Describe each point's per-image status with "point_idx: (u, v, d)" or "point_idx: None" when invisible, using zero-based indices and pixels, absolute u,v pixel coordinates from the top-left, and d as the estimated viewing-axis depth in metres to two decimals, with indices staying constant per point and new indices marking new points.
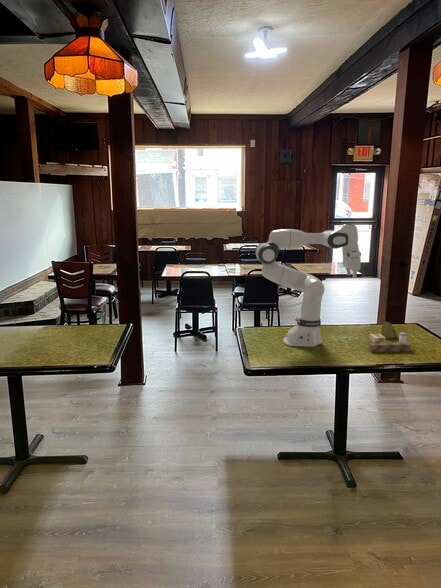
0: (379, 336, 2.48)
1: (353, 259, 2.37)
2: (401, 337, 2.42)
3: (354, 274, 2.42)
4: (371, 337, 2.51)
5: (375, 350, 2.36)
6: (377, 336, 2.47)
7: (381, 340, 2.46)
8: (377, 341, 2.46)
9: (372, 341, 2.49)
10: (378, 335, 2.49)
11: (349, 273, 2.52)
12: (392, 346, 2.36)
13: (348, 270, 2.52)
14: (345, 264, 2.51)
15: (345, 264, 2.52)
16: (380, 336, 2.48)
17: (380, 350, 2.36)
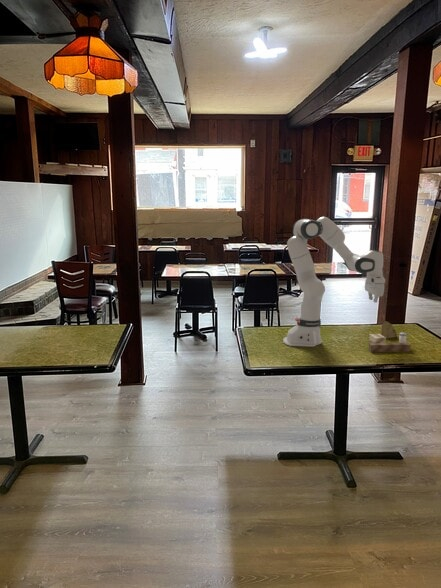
0: (379, 336, 2.48)
1: (377, 285, 2.44)
2: (401, 337, 2.42)
3: (375, 299, 2.50)
4: (371, 337, 2.50)
5: (375, 350, 2.36)
6: (377, 336, 2.47)
7: (381, 340, 2.46)
8: (377, 341, 2.46)
9: (372, 341, 2.49)
10: (378, 335, 2.49)
11: (371, 298, 2.58)
12: (392, 346, 2.36)
13: (370, 295, 2.59)
14: (367, 288, 2.58)
15: (367, 288, 2.59)
16: (380, 336, 2.48)
17: (380, 350, 2.36)
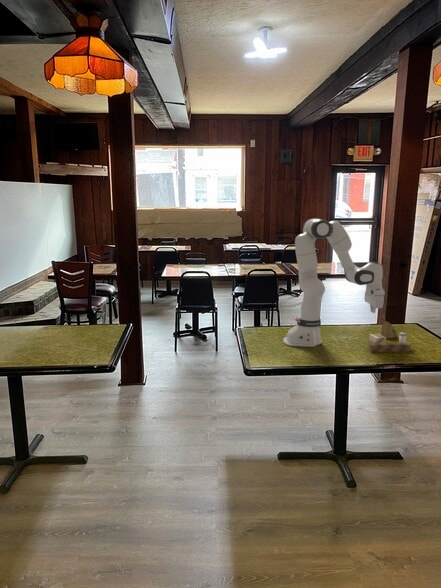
0: (379, 336, 2.48)
1: (377, 297, 2.46)
2: (401, 337, 2.42)
3: (373, 309, 2.55)
4: (371, 337, 2.50)
5: (375, 350, 2.36)
6: (378, 336, 2.47)
7: (382, 340, 2.46)
8: (378, 341, 2.46)
9: (372, 341, 2.49)
10: (378, 335, 2.49)
11: None
12: (392, 346, 2.36)
13: (372, 307, 2.57)
14: (367, 300, 2.60)
15: (366, 299, 2.61)
16: (380, 336, 2.48)
17: (380, 350, 2.36)
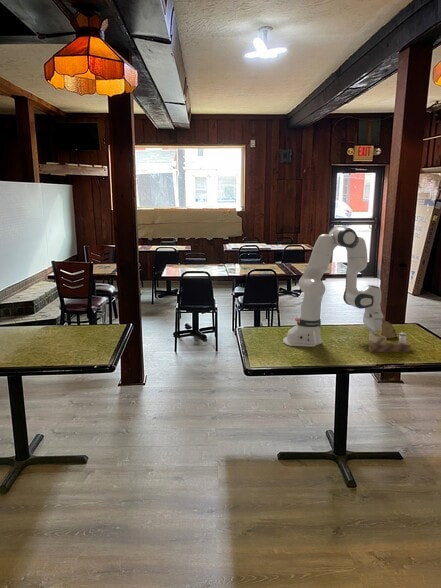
0: (379, 336, 2.48)
1: (375, 320, 2.48)
2: (401, 337, 2.42)
3: (372, 332, 2.57)
4: (371, 337, 2.50)
5: (375, 350, 2.36)
6: (378, 336, 2.47)
7: (382, 340, 2.46)
8: (378, 341, 2.45)
9: (373, 341, 2.49)
10: (378, 335, 2.50)
11: None
12: (392, 346, 2.36)
13: (370, 329, 2.60)
14: (366, 322, 2.63)
15: (365, 322, 2.64)
16: (380, 336, 2.48)
17: (380, 350, 2.36)
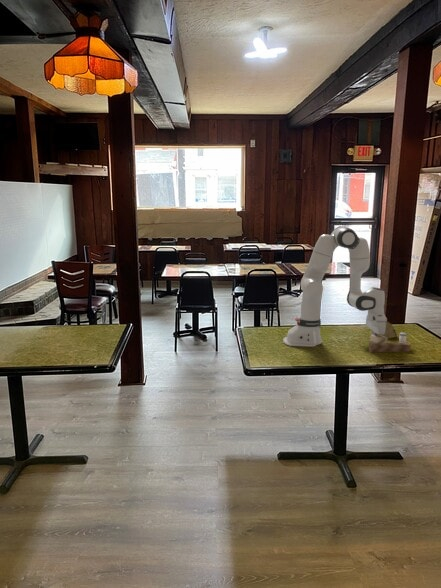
0: (380, 336, 2.47)
1: (379, 323, 2.43)
2: (401, 337, 2.42)
3: None
4: (372, 338, 2.48)
5: (375, 350, 2.36)
6: (379, 337, 2.46)
7: (383, 340, 2.44)
8: (380, 342, 2.44)
9: (374, 342, 2.47)
10: (379, 336, 2.48)
11: None
12: (392, 346, 2.36)
13: (373, 332, 2.55)
14: (368, 325, 2.58)
15: (368, 324, 2.59)
16: (381, 336, 2.47)
17: (380, 350, 2.36)
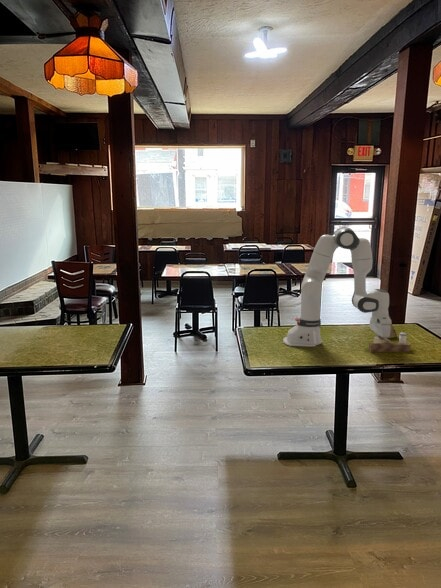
0: (384, 339, 2.41)
1: (383, 326, 2.38)
2: (401, 337, 2.42)
3: None
4: (376, 340, 2.44)
5: (375, 350, 2.36)
6: (382, 340, 2.41)
7: None
8: None
9: None
10: (383, 338, 2.43)
11: None
12: (392, 346, 2.36)
13: (378, 335, 2.49)
14: (372, 327, 2.52)
15: (372, 327, 2.53)
16: (385, 339, 2.42)
17: (380, 350, 2.36)
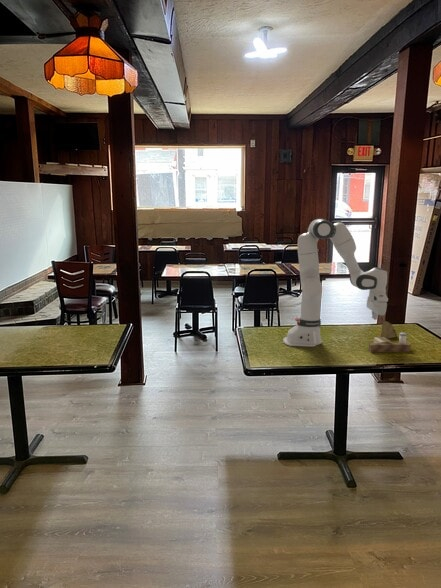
0: (384, 340, 2.42)
1: (380, 303, 2.40)
2: (401, 337, 2.42)
3: (375, 316, 2.49)
4: (376, 341, 2.44)
5: (375, 350, 2.36)
6: (382, 340, 2.41)
7: None
8: None
9: None
10: (383, 339, 2.43)
11: None
12: (392, 346, 2.36)
13: (374, 313, 2.52)
14: (369, 306, 2.55)
15: (369, 305, 2.56)
16: (385, 340, 2.42)
17: (380, 350, 2.36)
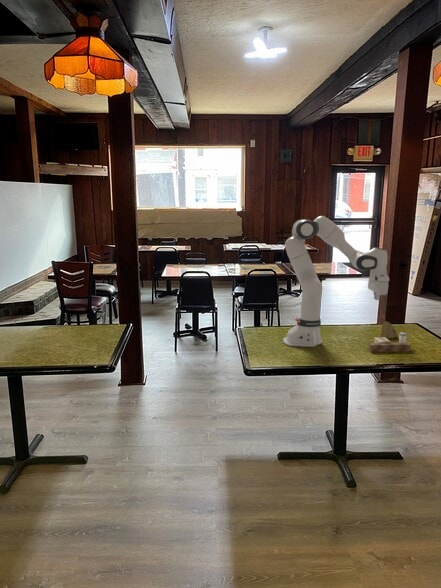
0: (384, 340, 2.42)
1: (381, 283, 2.39)
2: (401, 337, 2.42)
3: (377, 296, 2.48)
4: (376, 341, 2.44)
5: (375, 350, 2.36)
6: (382, 340, 2.41)
7: None
8: None
9: None
10: (383, 339, 2.43)
11: None
12: (392, 346, 2.36)
13: (375, 294, 2.51)
14: (371, 287, 2.53)
15: (370, 287, 2.54)
16: (385, 340, 2.41)
17: (380, 350, 2.36)
